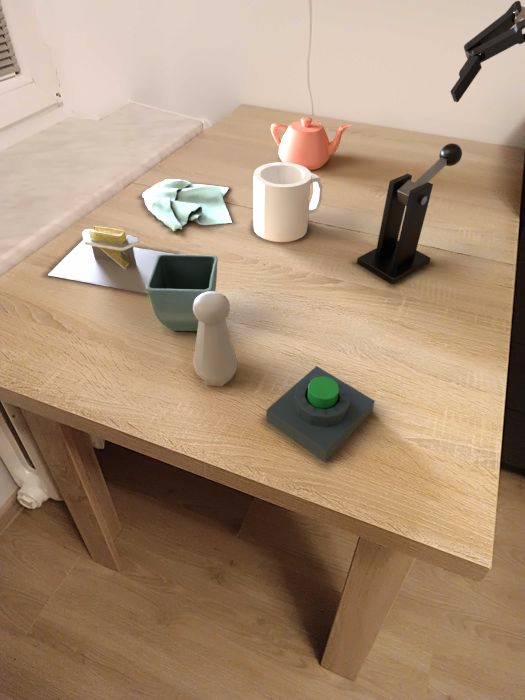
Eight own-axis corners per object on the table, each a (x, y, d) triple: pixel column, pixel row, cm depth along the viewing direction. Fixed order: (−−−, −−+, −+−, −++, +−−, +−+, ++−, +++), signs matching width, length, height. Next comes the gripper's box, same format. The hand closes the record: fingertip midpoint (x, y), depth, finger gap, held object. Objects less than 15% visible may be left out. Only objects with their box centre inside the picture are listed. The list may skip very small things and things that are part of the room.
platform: (146, 293, 80) (139, 258, 76) (47, 275, 83) (35, 240, 79) (175, 254, 88) (170, 220, 84) (84, 238, 92) (75, 205, 87)
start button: (319, 381, 62) (320, 371, 60) (343, 396, 60) (345, 386, 59) (301, 398, 60) (302, 388, 58) (325, 413, 58) (327, 404, 57)
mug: (300, 205, 102) (303, 153, 95) (331, 227, 96) (338, 173, 88) (243, 223, 96) (242, 170, 89) (273, 247, 90) (275, 192, 83)
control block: (315, 377, 67) (317, 355, 64) (372, 412, 63) (377, 390, 60) (266, 420, 62) (266, 399, 59) (324, 462, 57) (328, 441, 55)
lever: (448, 153, 82) (448, 136, 80) (466, 160, 81) (467, 142, 78) (394, 203, 80) (393, 186, 77) (411, 211, 78) (411, 194, 75)
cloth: (164, 176, 111) (163, 166, 109) (256, 193, 106) (256, 182, 104) (114, 219, 97) (111, 208, 95) (217, 241, 92) (216, 229, 90)
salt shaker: (207, 398, 64) (200, 321, 55) (187, 371, 68) (176, 294, 59) (246, 379, 67) (244, 303, 58) (224, 354, 70) (219, 278, 61)
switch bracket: (393, 244, 92) (411, 165, 81) (429, 263, 87) (452, 182, 77) (356, 263, 87) (369, 182, 77) (392, 284, 82) (411, 201, 72)
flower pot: (165, 301, 79) (157, 252, 72) (220, 303, 78) (218, 254, 72) (154, 339, 72) (144, 289, 66) (214, 341, 72) (211, 291, 66)
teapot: (275, 147, 123) (277, 106, 117) (348, 155, 121) (354, 113, 114) (264, 167, 115) (264, 124, 108) (342, 176, 112) (347, 133, 105)
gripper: (661, 16, 73) (566, 144, 76) (506, -9, 86) (432, 101, 90) (668, -27, 66) (564, 115, 70) (500, -45, 80) (420, 74, 84)
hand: (489, 108), depth 80 cm, fingers open, 13 cm apart
